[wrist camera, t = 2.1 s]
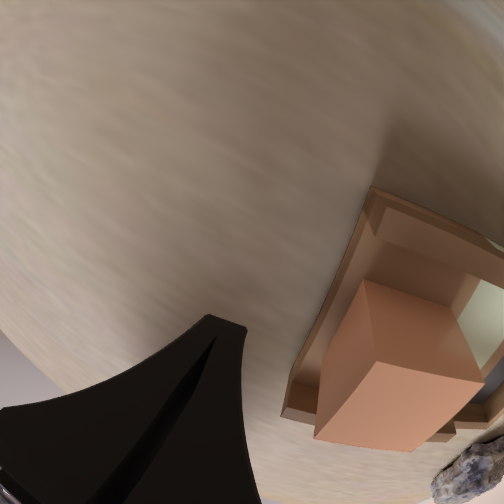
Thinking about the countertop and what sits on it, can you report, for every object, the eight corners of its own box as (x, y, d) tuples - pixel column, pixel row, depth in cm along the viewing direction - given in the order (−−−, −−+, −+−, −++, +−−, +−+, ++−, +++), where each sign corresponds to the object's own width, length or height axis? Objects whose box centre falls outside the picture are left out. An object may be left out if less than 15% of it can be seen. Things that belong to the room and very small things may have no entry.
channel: (480, 409, 14) (489, 441, 11) (289, 372, 16) (280, 416, 13) (569, 288, 9) (593, 316, 6) (370, 186, 11) (386, 206, 8)
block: (401, 377, 12) (411, 452, 8) (321, 357, 13) (313, 438, 9) (450, 308, 10) (485, 383, 6) (362, 278, 11) (376, 361, 7)
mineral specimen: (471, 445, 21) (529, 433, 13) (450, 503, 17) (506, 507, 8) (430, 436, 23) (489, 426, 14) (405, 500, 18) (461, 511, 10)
